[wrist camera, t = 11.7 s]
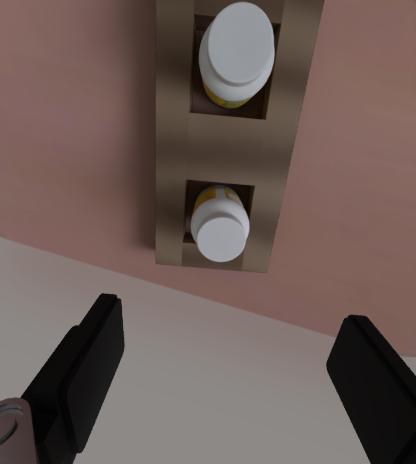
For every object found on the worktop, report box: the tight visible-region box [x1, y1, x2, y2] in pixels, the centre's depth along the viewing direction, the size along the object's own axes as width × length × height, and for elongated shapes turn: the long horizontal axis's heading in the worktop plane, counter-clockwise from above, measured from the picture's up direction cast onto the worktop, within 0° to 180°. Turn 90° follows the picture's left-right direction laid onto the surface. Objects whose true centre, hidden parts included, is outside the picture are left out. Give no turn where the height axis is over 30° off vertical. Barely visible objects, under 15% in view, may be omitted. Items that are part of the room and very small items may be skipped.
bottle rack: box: [155, 0, 324, 273], centre depth 24 cm, size 26×13×3 cm, turn 175°
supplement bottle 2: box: [191, 185, 249, 262], centre depth 23 cm, size 5×5×10 cm
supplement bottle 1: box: [199, 2, 274, 109], centre depth 18 cm, size 5×5×10 cm
